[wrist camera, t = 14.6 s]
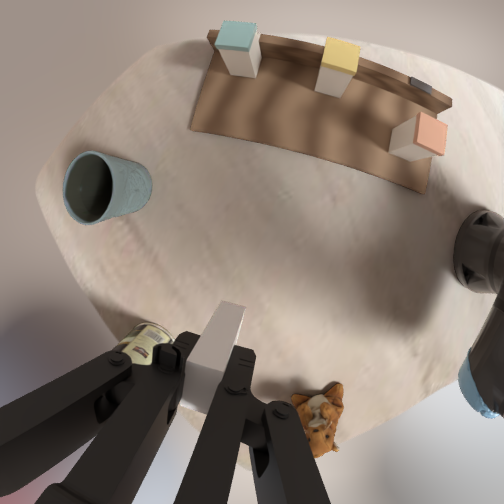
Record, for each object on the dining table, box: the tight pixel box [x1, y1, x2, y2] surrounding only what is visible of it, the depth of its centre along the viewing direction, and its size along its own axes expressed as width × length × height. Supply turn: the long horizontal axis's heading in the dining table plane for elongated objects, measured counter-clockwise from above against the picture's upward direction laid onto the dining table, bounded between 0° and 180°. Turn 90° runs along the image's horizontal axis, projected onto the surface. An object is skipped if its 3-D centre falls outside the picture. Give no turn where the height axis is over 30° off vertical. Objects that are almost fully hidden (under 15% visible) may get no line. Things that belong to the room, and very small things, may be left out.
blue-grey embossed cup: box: [63, 151, 152, 225], centre depth 37 cm, size 10×10×12 cm
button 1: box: [388, 112, 448, 162], centre depth 30 cm, size 4×4×10 cm
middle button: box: [315, 37, 360, 98], centre depth 30 cm, size 4×4×10 cm
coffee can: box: [111, 323, 175, 365], centre depth 41 cm, size 10×10×14 cm
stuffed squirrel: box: [291, 384, 344, 458], centre depth 41 cm, size 10×14×13 cm
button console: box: [190, 30, 452, 194], centre depth 34 cm, size 38×16×6 cm, turn 76°
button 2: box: [215, 21, 262, 78], centre depth 30 cm, size 4×4×10 cm
